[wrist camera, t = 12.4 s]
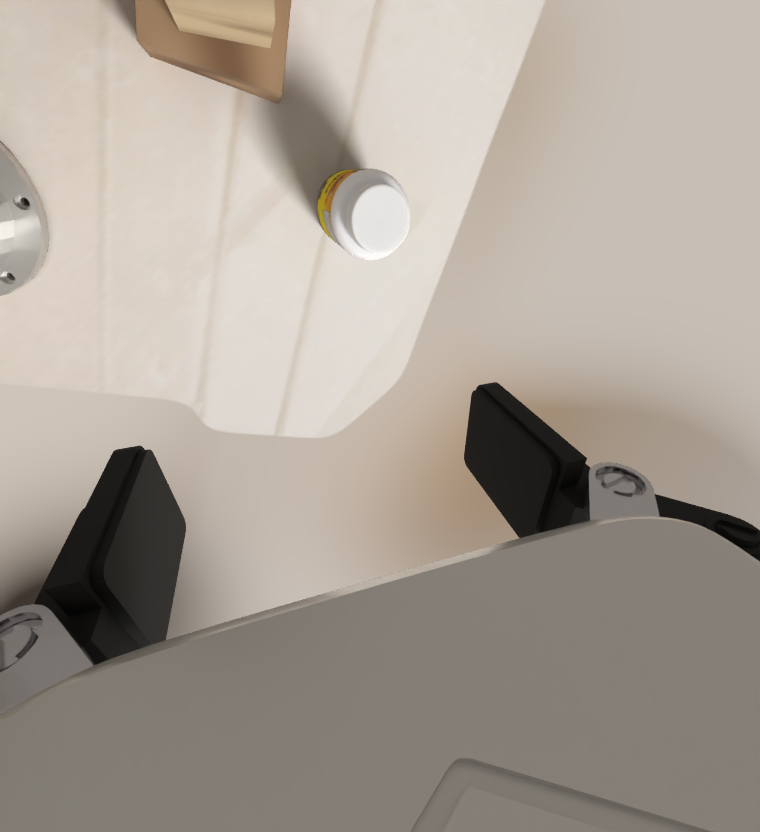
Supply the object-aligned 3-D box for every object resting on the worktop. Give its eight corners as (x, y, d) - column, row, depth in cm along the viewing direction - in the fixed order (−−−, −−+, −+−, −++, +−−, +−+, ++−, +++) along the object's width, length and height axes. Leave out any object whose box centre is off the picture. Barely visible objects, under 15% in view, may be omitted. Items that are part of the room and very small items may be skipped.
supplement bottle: (368, 159, 30) (413, 154, 22) (385, 231, 34) (430, 250, 25) (304, 182, 30) (325, 185, 22) (328, 253, 33) (354, 279, 25)
